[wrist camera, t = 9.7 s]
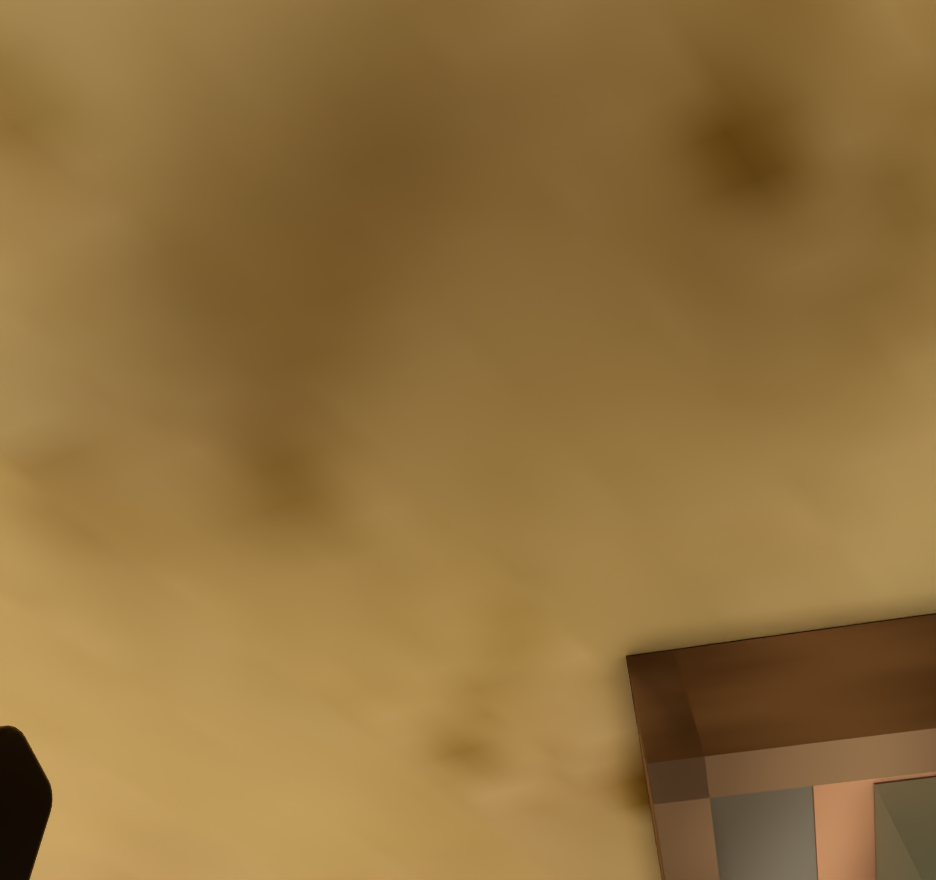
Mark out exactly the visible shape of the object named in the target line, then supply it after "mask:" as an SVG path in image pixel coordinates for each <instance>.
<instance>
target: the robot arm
mask: <svg viewBox="0 0 936 880" xmlns="http://www.w3.org/2000/svg"><path fill="white" fill-rule="evenodd" d="M51 808H52V789H51V785H50V783H49V780H48V778H47V777H46V775H45V773H44V771H43V769H42V767H41V765H40V764H39V762H38V760H37V758H36V756H35V754H34V752H33V751H32V749H31V747H30V745H29V743H28V741H27V740H26V738H25V736H24V735H23V733H22V732H21V731H20V730H18V729H17V728H16V727H13V726H0V880H29V879H30V876H31V873H32V870H33V867H34V863H35V860H36V857H37V854H38V851H39V847H40V844H41V841H42V838H43V835H44V831H45V828H46V825H47V822H48V819H49V815H50V812H51Z"/></svg>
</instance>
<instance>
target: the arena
mask: <svg viewBox="0 0 936 880" xmlns="http://www.w3.org/2000/svg"><path fill="white" fill-rule="evenodd" d="M626 660H627V666H628V672H629V678H630V684H631V691H632V697H633V703H634V709H635V715H636V722H637V728H638V734H639V740H640V747H641V753H642V759H643V765H644V771H645V778H646V784H647V790H648V796H649V803H650V809H651V815H652V821H653V827H654V834H655V840H656V846H657V852H658V858H659V865H660V871H661V877H662V880H876V844H875V800H874V784H882V783H890V782H899V781H907V780H915V779H924V778H932V777H936V614H933V615H926V616H919V617H911V618H904V619H897V620H889V621H882V622H875V623H868V624H860V625H853V626H846V627H839V628H831V629H824V630H817V631H810V632H802V633H795V634H788V635H780V636H773V637H766V638H759V639H751V640H744V641H737V642H730V643H722V644H715V645H708V646H701V647H693V648H686V649H679V650H671V651H664V652H657V653H650V654H642V655H635V656H628V657H626Z"/></svg>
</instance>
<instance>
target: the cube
mask: <svg viewBox="0 0 936 880" xmlns="http://www.w3.org/2000/svg"><path fill="white" fill-rule="evenodd" d="M874 800H875V844H876V880H936V777H932V778H924V779H915V780H907V781H899V782H890V783H882V784H874Z"/></svg>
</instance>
